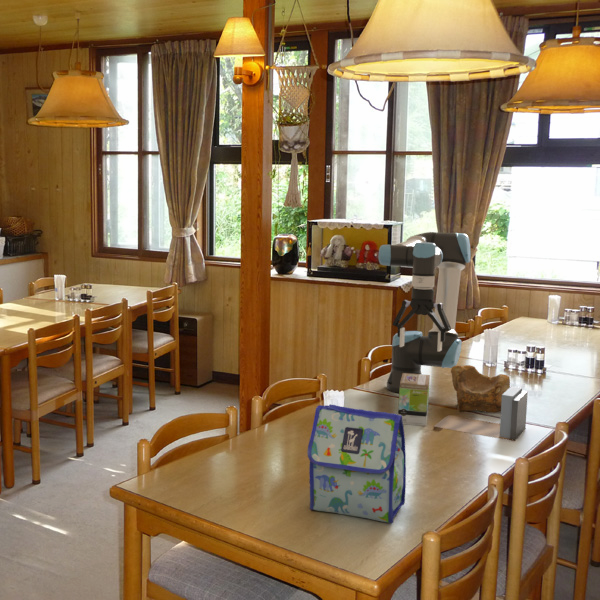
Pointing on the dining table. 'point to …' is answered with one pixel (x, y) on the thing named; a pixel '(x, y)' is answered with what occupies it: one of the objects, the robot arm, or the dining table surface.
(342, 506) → the lunch bag
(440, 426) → the shelf board
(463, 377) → the rough brown rock
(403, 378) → the tea box
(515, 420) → the gray square slab
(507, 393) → the grey upright block
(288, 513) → the dining table surface
